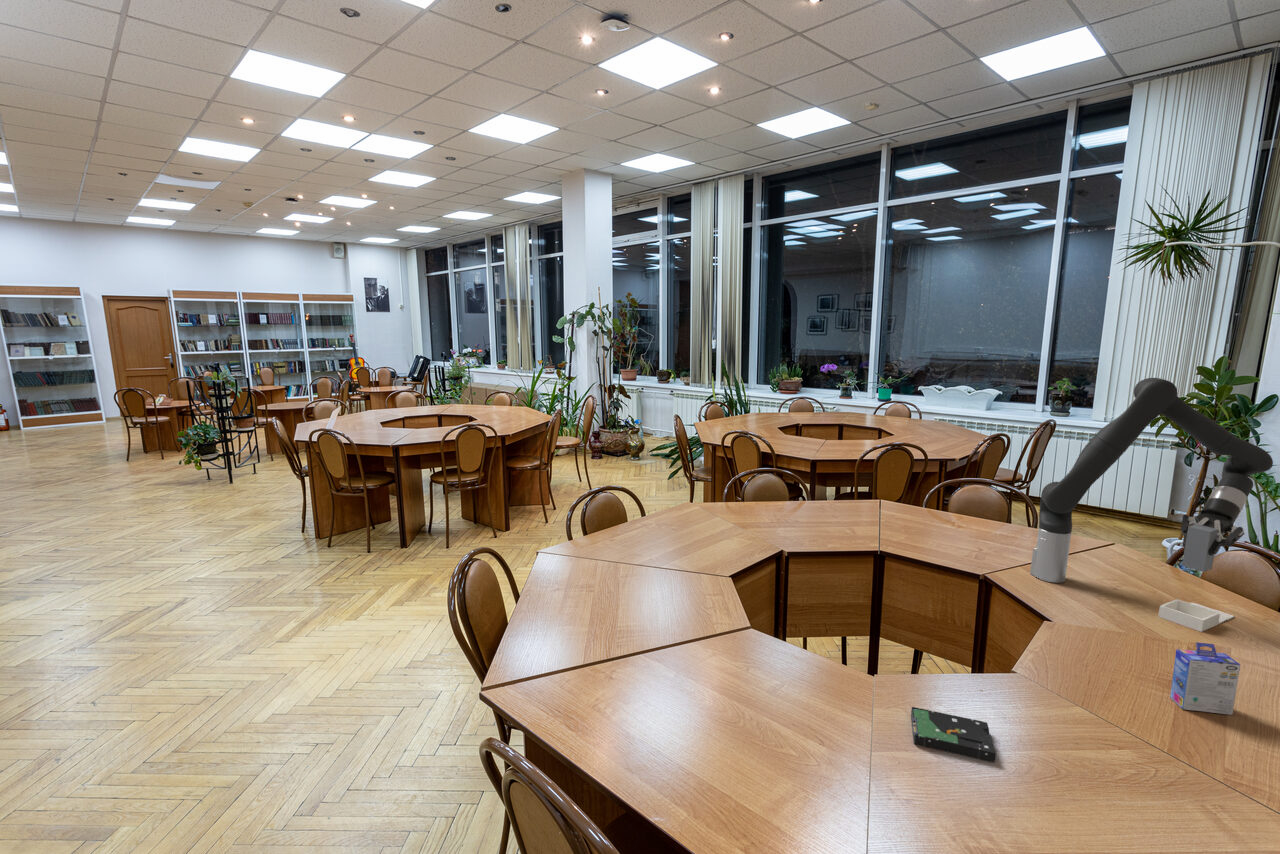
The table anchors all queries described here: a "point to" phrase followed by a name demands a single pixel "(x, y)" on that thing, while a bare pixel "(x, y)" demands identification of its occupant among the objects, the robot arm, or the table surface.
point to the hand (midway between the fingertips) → (1197, 550)
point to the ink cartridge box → (1204, 680)
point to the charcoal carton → (1199, 547)
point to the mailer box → (1192, 615)
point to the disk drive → (952, 734)
